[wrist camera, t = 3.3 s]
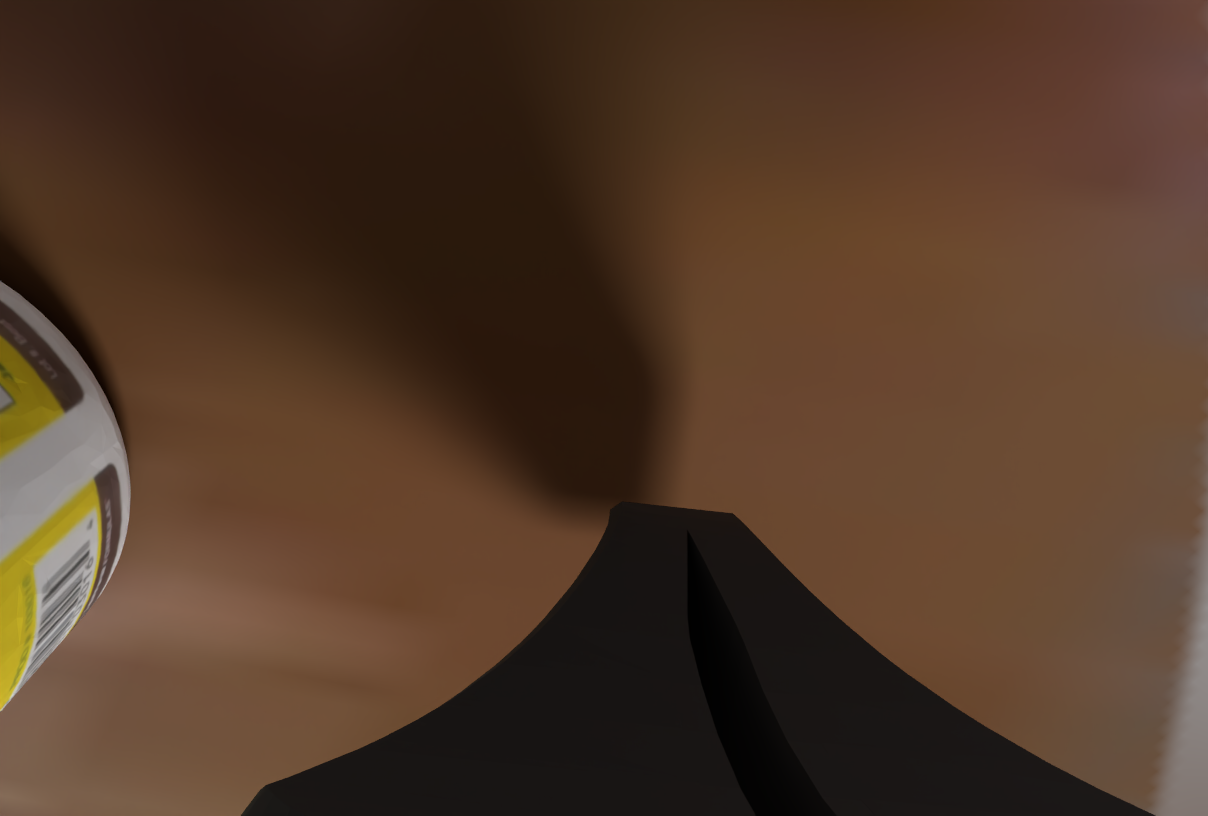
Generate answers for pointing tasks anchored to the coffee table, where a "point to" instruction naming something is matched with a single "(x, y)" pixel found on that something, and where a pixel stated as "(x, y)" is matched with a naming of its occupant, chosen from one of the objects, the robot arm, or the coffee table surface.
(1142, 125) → the coffee table surface
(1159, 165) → the coffee table surface
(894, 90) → the coffee table surface
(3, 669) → the supplement bottle
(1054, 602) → the coffee table surface
